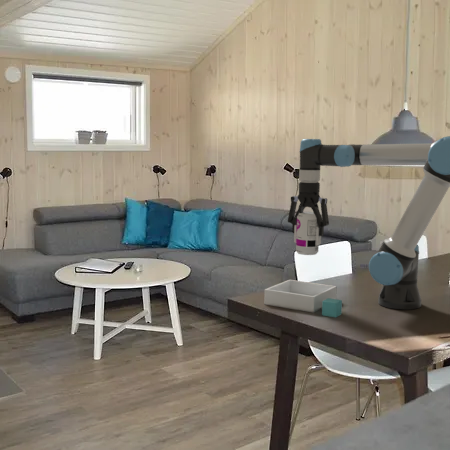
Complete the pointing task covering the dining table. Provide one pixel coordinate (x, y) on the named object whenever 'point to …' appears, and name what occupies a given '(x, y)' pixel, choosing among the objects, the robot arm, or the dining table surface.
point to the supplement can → (306, 234)
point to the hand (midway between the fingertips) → (307, 243)
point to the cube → (331, 307)
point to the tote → (299, 295)
